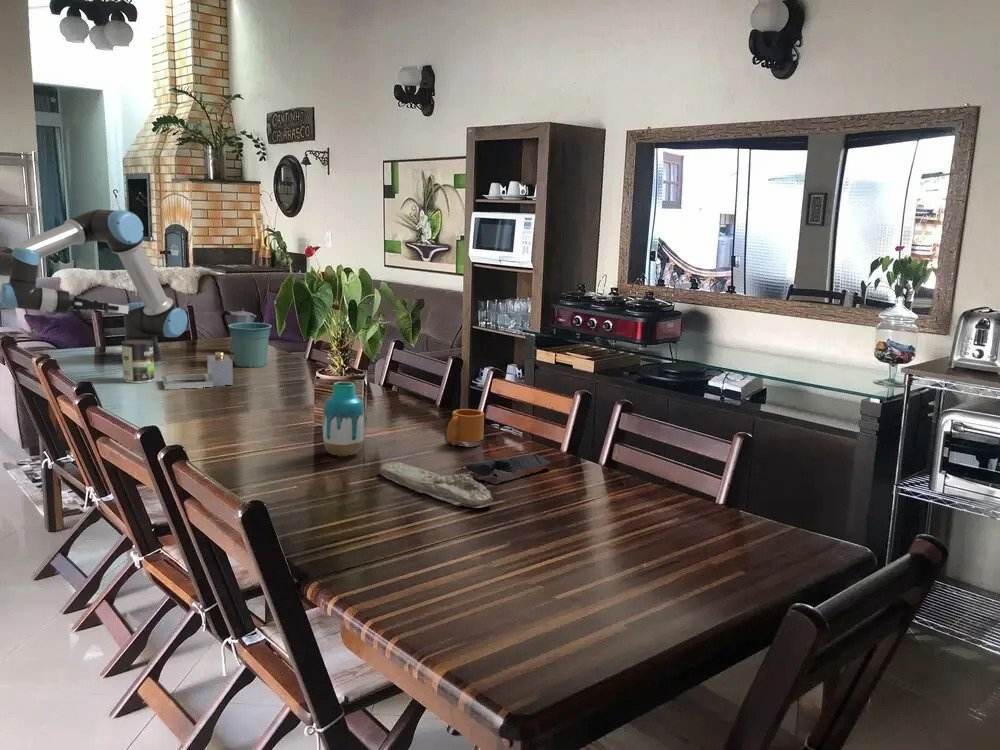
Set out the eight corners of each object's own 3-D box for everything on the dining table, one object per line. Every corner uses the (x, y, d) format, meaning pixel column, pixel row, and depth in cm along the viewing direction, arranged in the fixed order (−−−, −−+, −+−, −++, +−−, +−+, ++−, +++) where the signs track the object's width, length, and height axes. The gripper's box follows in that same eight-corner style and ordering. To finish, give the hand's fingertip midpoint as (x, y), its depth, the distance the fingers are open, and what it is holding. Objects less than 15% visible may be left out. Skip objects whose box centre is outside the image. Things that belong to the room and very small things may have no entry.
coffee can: (159, 378, 294) (158, 340, 291) (146, 384, 284) (145, 344, 281) (131, 377, 294) (129, 338, 291) (117, 382, 284) (115, 343, 281)
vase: (327, 462, 205) (327, 388, 201) (319, 451, 214) (319, 380, 211) (368, 459, 209) (369, 386, 205) (358, 448, 219) (359, 378, 215)
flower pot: (271, 368, 319) (271, 328, 316) (227, 369, 315) (226, 328, 312) (272, 361, 335) (272, 322, 332) (230, 361, 331) (230, 322, 328)
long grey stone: (399, 474, 204) (369, 484, 196) (398, 454, 203) (367, 464, 195) (504, 503, 181) (474, 516, 173) (503, 480, 180) (473, 493, 172)
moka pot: (253, 355, 346) (252, 309, 342) (217, 354, 346) (216, 307, 342) (260, 351, 355) (259, 306, 351) (225, 350, 355) (224, 305, 351)
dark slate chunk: (559, 474, 205) (560, 456, 204) (489, 488, 192) (490, 469, 191) (522, 458, 217) (523, 441, 216) (454, 470, 204) (454, 452, 203)
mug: (435, 443, 227) (436, 411, 225) (471, 438, 234) (472, 407, 232) (452, 450, 220) (453, 418, 218) (489, 445, 227) (490, 414, 225)
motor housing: (161, 381, 289) (160, 350, 287) (227, 378, 299) (226, 348, 297) (165, 390, 276) (163, 358, 274) (233, 386, 286) (232, 355, 283)
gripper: (46, 311, 278) (112, 318, 292) (61, 313, 259) (131, 321, 273) (48, 289, 278) (114, 298, 292) (64, 290, 259) (133, 299, 273)
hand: (122, 309), depth 282 cm, fingers open, 13 cm apart
